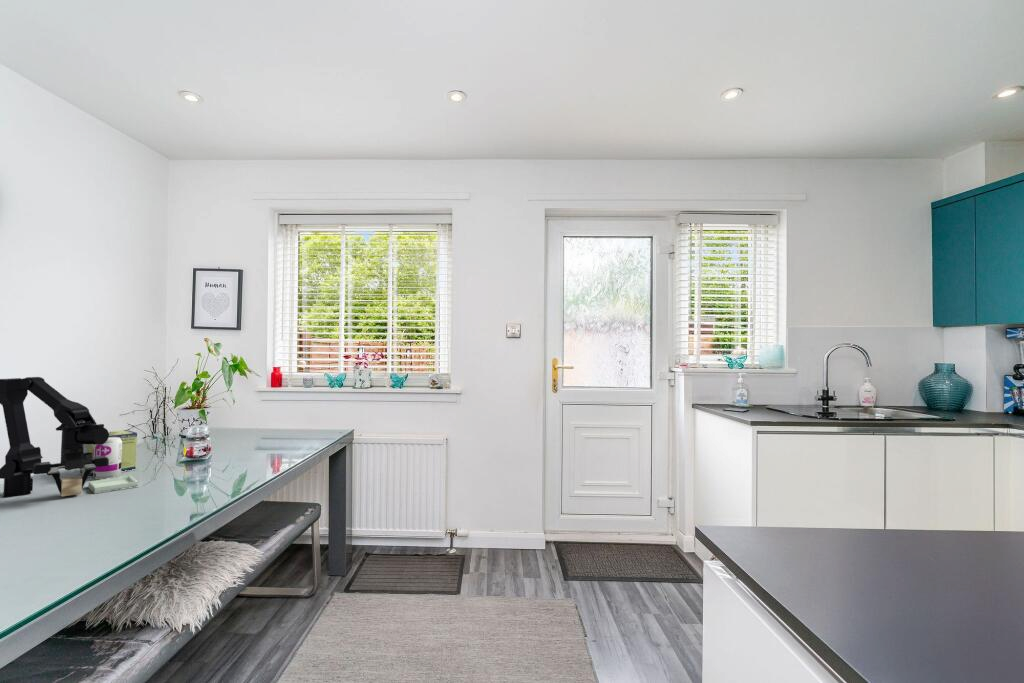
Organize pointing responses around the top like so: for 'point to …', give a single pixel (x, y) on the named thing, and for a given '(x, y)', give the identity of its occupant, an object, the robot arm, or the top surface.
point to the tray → (112, 484)
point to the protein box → (127, 449)
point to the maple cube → (71, 486)
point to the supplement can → (113, 453)
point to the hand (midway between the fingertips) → (70, 490)
